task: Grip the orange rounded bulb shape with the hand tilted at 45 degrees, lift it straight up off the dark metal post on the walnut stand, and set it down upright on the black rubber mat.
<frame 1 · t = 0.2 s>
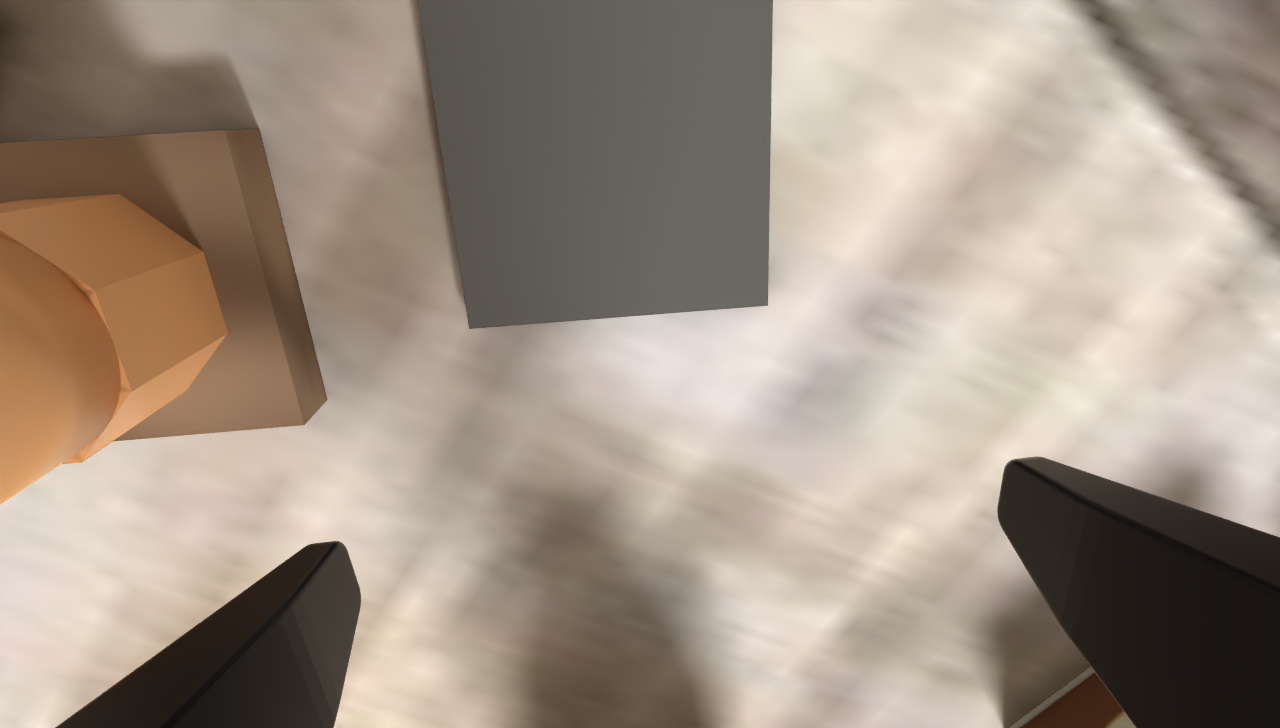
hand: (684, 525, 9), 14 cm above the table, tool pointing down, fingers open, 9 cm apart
food container: (1111, 699, 32), on the table
post stand: (152, 284, 21), on the table
orange rounded bulb shape: (110, 301, 19), point 2 cm above the table, touching post stand
mat: (608, 158, 21), on the table
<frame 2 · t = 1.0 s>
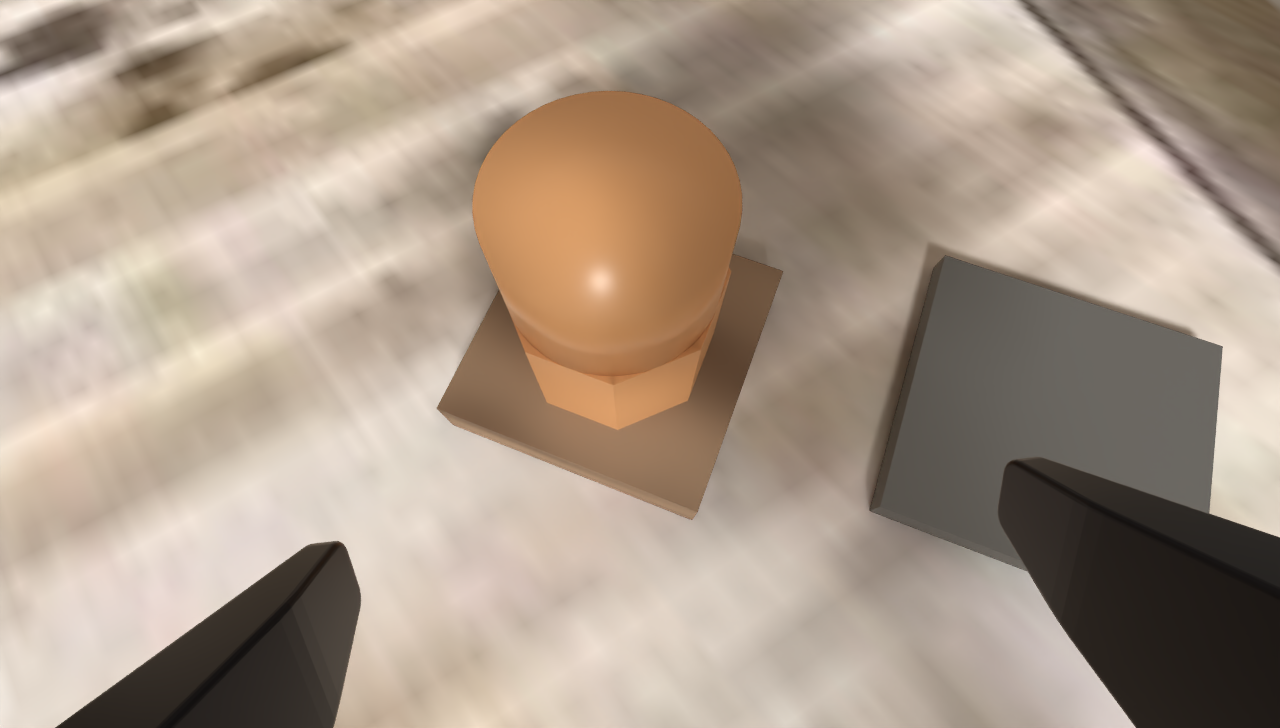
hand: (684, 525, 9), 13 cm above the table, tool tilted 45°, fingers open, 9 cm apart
post stand: (618, 358, 24), on the table
orange rounded bulb shape: (617, 336, 22), point 2 cm above the table, touching post stand
mat: (1042, 430, 23), on the table
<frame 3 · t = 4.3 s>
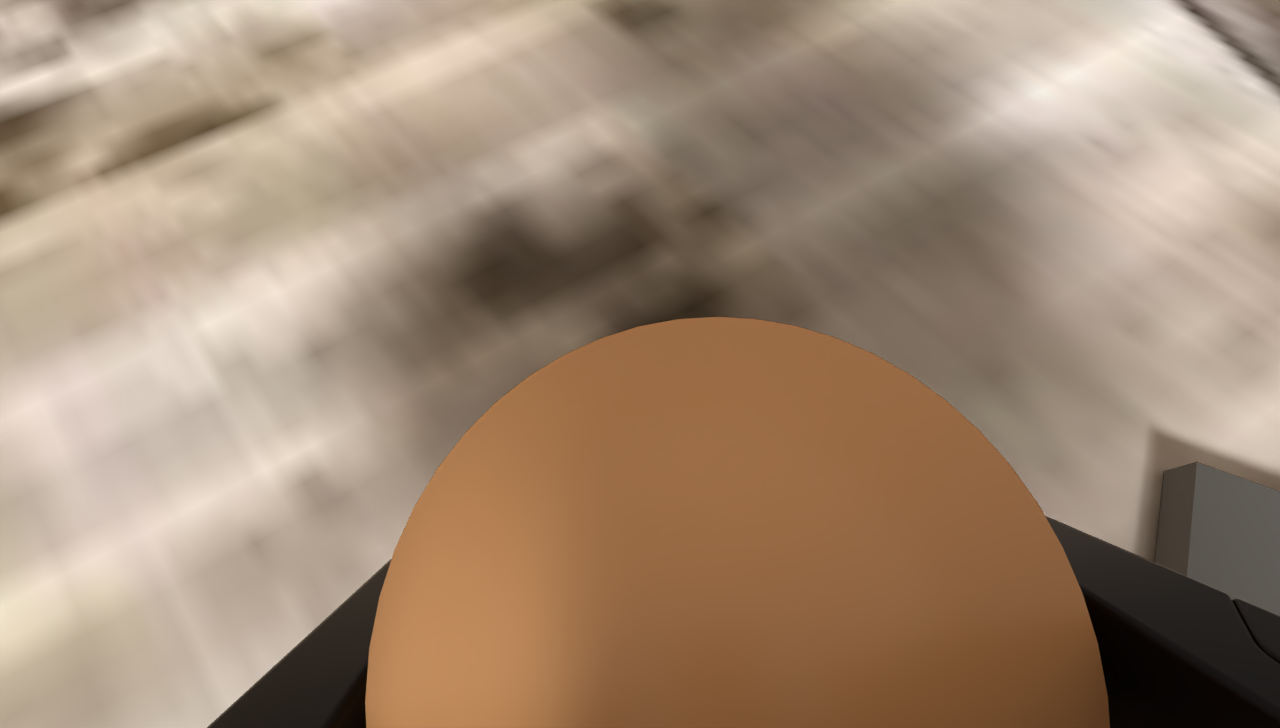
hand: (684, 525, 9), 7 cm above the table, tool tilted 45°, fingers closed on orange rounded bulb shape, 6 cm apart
orange rounded bulb shape: (677, 630, 13), point 2 cm above the table, touching gripper, post stand
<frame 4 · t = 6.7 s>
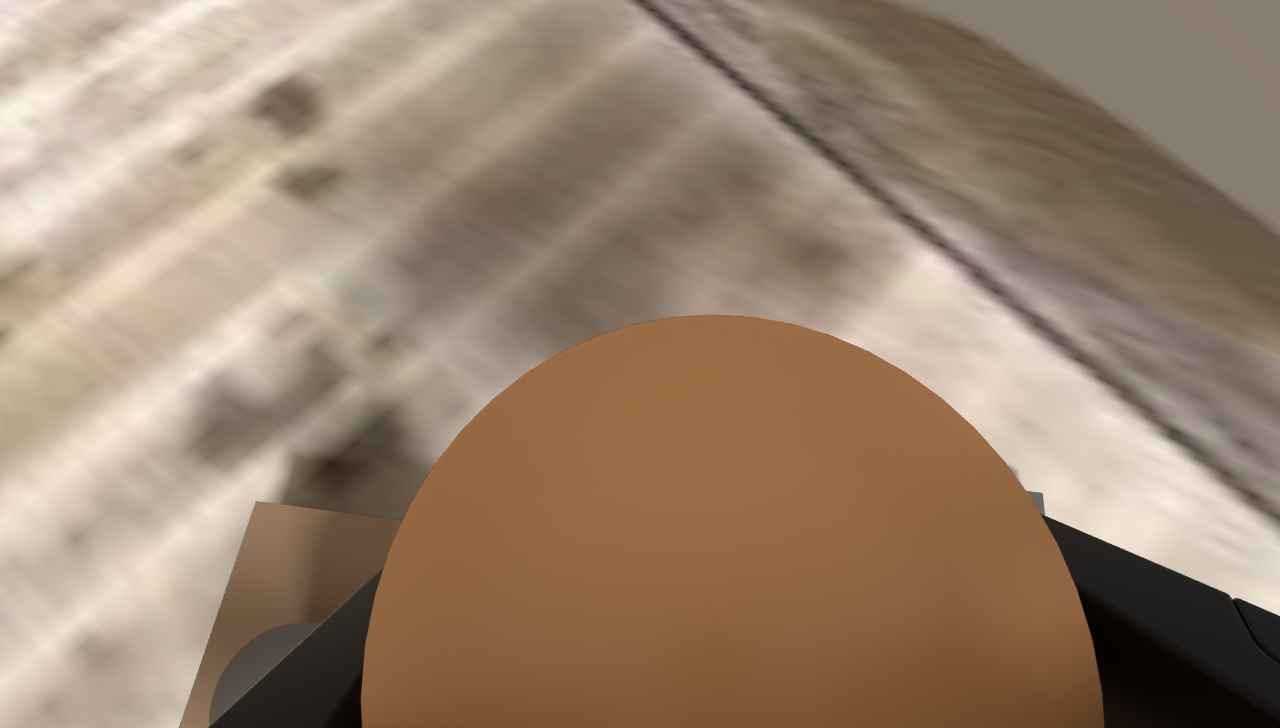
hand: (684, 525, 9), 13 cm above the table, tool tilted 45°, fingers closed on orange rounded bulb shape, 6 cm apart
post stand: (384, 677, 20), on the table
orange rounded bulb shape: (675, 629, 13), point 8 cm above the table, touching gripper
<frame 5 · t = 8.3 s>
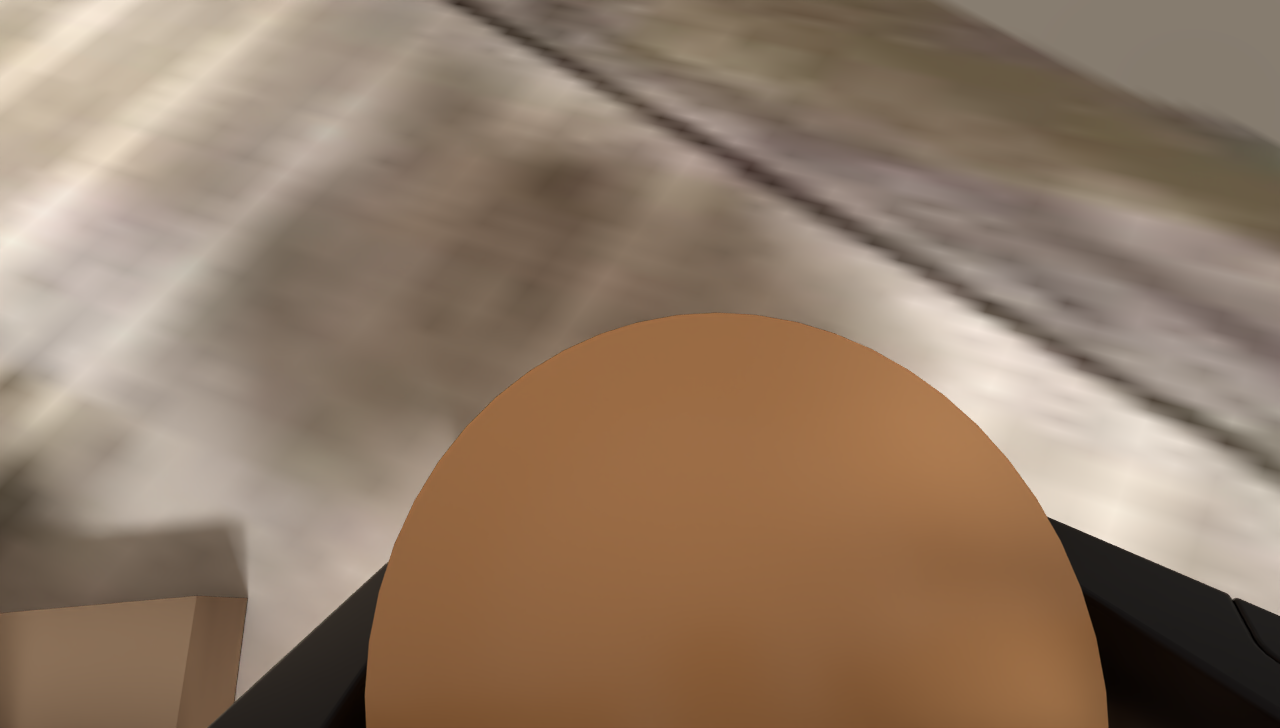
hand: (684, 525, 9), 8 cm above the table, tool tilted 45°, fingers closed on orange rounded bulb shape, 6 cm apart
orange rounded bulb shape: (677, 628, 13), point 3 cm above the table, touching gripper
when the fingers open (7 cm above the table, at t = 9.4 s): orange rounded bulb shape drops 1 cm, resting on mat.
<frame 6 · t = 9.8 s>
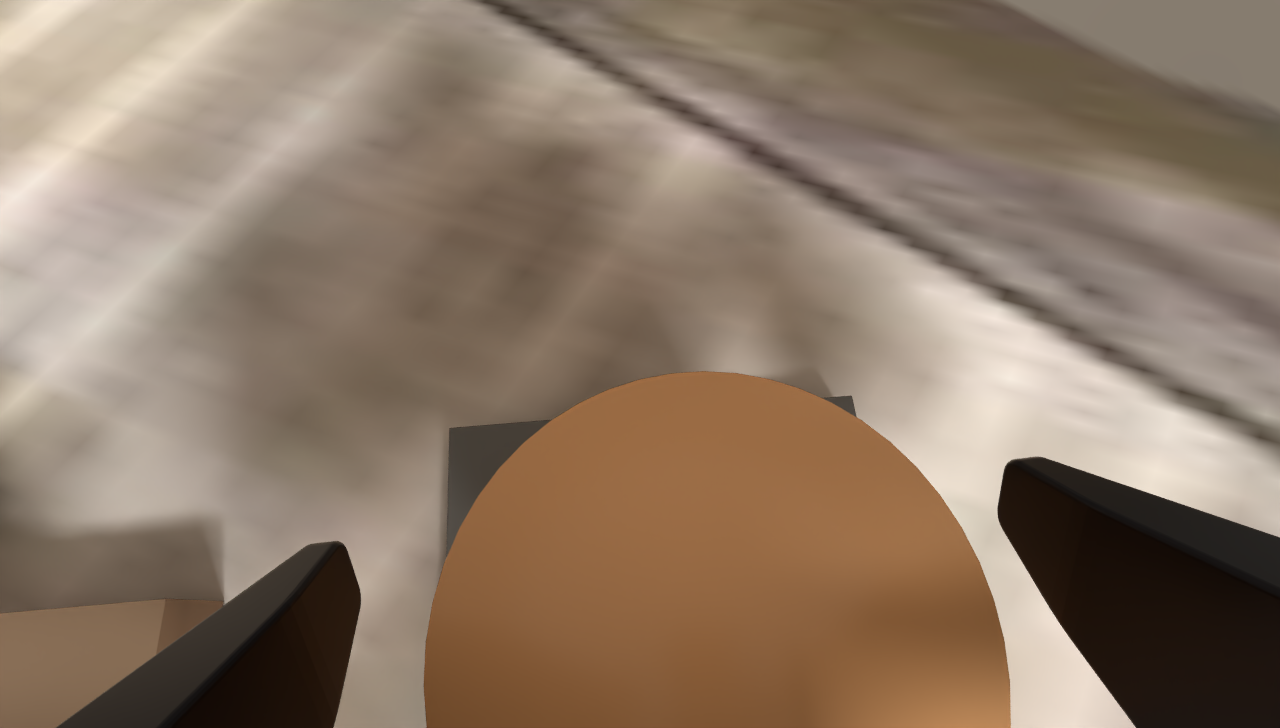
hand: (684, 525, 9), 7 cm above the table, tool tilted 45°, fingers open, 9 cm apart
orange rounded bulb shape: (674, 629, 14), point 1 cm above the table, touching mat
mat: (671, 628, 15), on the table
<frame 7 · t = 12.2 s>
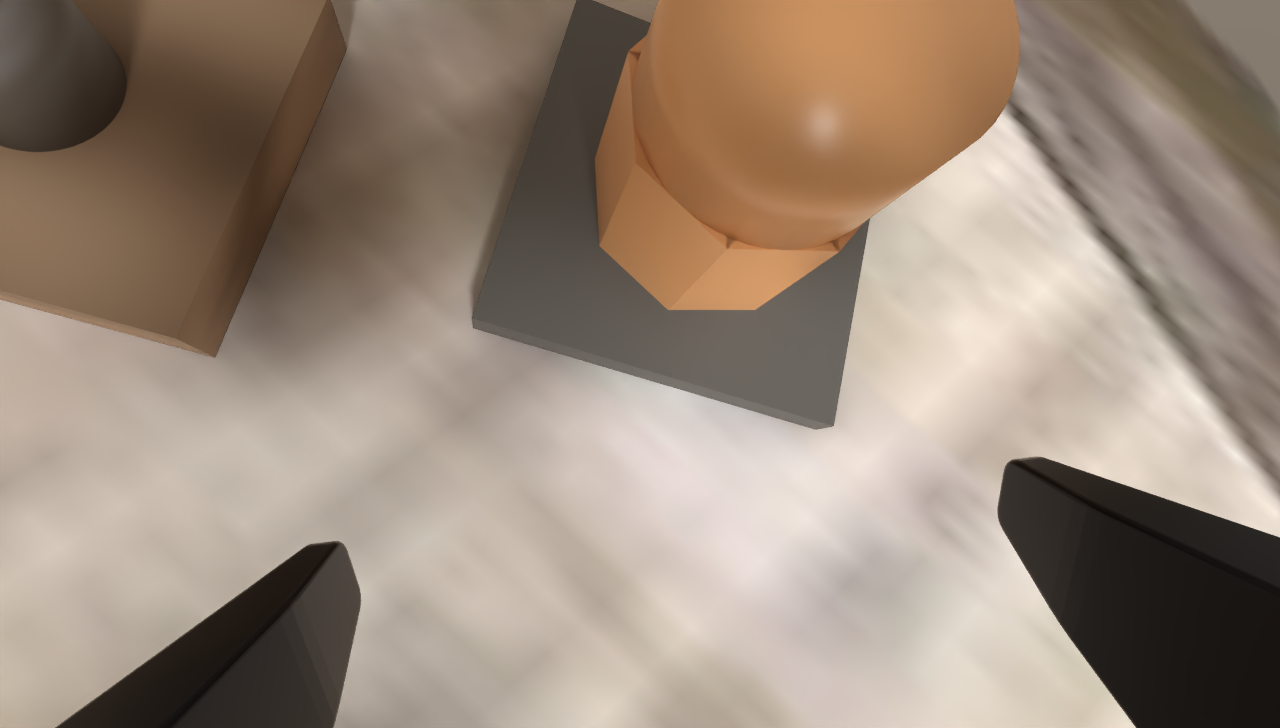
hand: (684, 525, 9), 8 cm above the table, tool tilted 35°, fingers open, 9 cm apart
post stand: (95, 132, 16), on the table
orange rounded bulb shape: (703, 206, 18), point 1 cm above the table, touching mat
mat: (692, 220, 19), on the table
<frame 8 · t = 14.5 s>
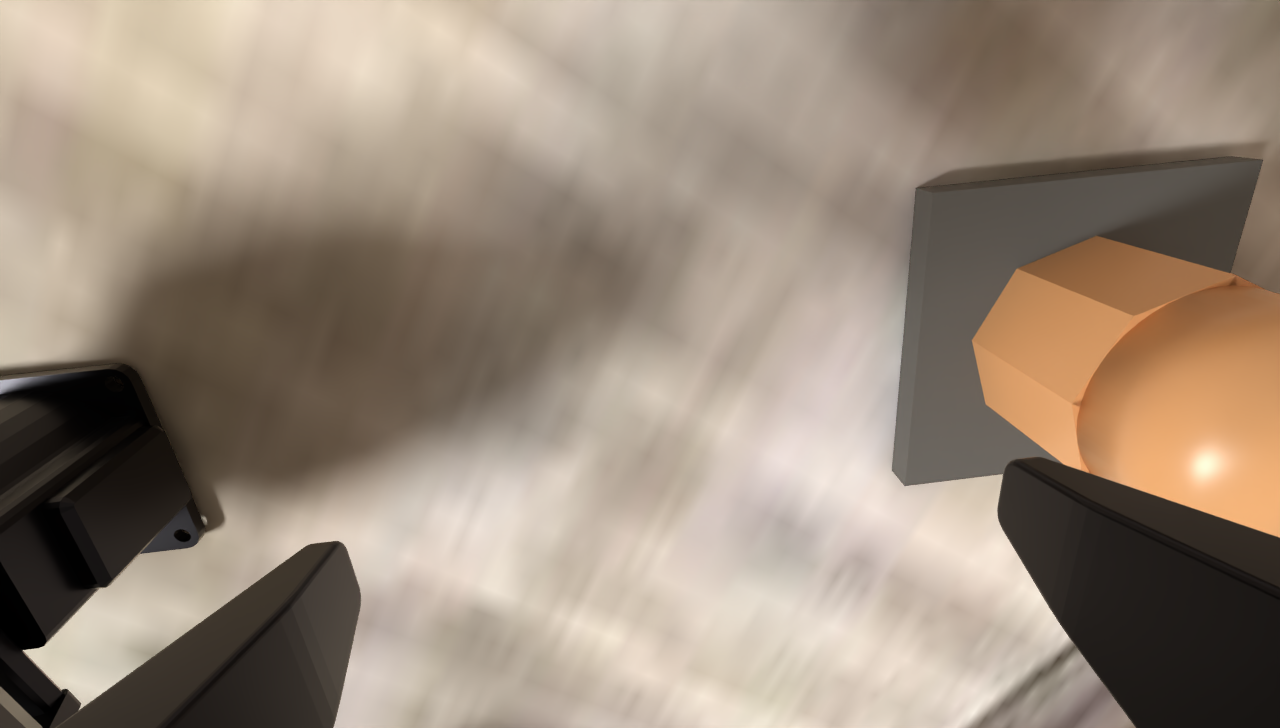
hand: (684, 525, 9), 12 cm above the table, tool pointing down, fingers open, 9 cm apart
orange rounded bulb shape: (1068, 336, 21), point 1 cm above the table, touching mat
mat: (1048, 326, 22), on the table
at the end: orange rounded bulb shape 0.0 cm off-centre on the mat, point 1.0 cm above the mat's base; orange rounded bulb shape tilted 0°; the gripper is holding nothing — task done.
